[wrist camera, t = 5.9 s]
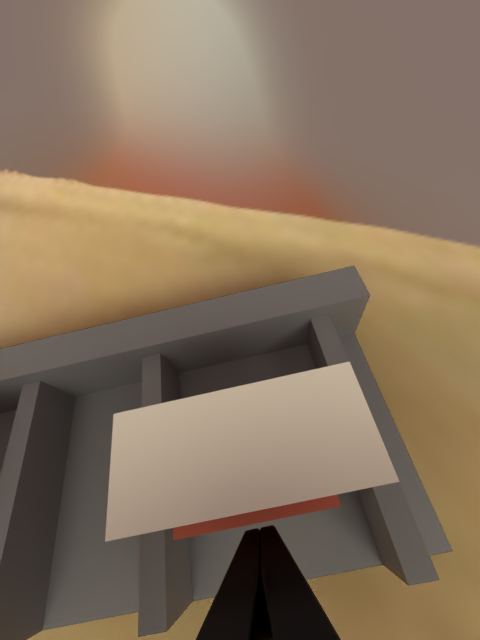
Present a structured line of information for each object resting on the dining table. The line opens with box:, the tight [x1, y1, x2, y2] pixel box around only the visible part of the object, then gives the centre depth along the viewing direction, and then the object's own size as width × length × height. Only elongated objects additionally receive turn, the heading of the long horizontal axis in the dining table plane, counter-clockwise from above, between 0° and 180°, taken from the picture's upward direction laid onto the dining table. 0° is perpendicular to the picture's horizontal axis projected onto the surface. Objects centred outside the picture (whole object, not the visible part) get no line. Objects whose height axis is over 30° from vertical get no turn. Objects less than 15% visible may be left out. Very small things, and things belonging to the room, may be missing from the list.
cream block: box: [105, 362, 400, 542], centre depth 11 cm, size 3×7×8 cm, turn 100°
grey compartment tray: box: [0, 266, 452, 640], centre depth 14 cm, size 13×30×5 cm, turn 100°
